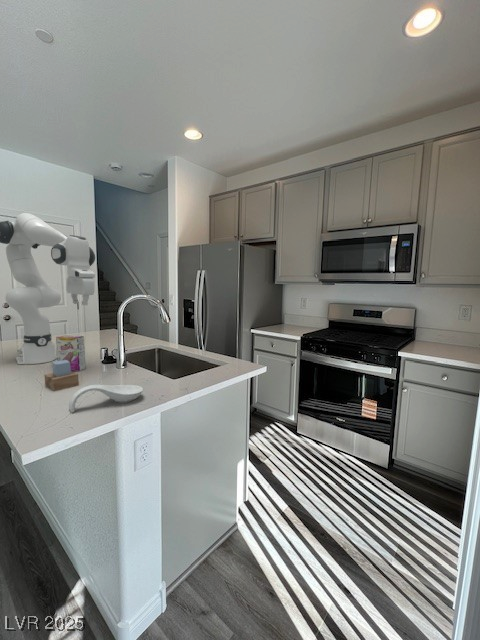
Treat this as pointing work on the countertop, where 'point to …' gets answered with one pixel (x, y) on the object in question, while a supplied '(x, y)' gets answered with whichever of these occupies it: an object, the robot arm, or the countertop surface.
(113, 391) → the spoon rest
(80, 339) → the candy bar box
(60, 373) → the slate blue cube
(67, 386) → the walnut block
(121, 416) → the countertop surface
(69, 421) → the countertop surface
